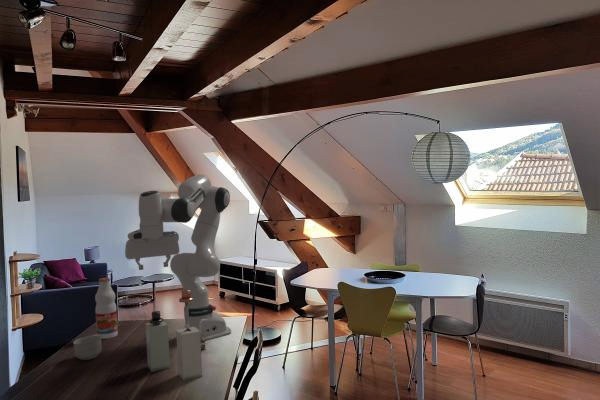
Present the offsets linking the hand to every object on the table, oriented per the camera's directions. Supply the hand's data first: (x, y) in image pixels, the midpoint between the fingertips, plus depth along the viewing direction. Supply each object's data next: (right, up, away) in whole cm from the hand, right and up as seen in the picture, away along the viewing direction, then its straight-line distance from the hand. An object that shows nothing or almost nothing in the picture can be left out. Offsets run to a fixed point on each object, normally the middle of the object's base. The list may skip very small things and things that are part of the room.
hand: (153, 268), depth 191 cm
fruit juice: (-36, -39, +45) cm, 70 cm away
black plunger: (+1, -36, +1) cm, 36 cm away
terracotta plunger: (+16, -25, -9) cm, 31 cm away
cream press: (+16, -39, -9) cm, 43 cm away
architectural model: (+13, -39, +19) cm, 45 cm away
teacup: (-32, -40, +17) cm, 54 cm away
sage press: (+2, -39, +2) cm, 39 cm away
